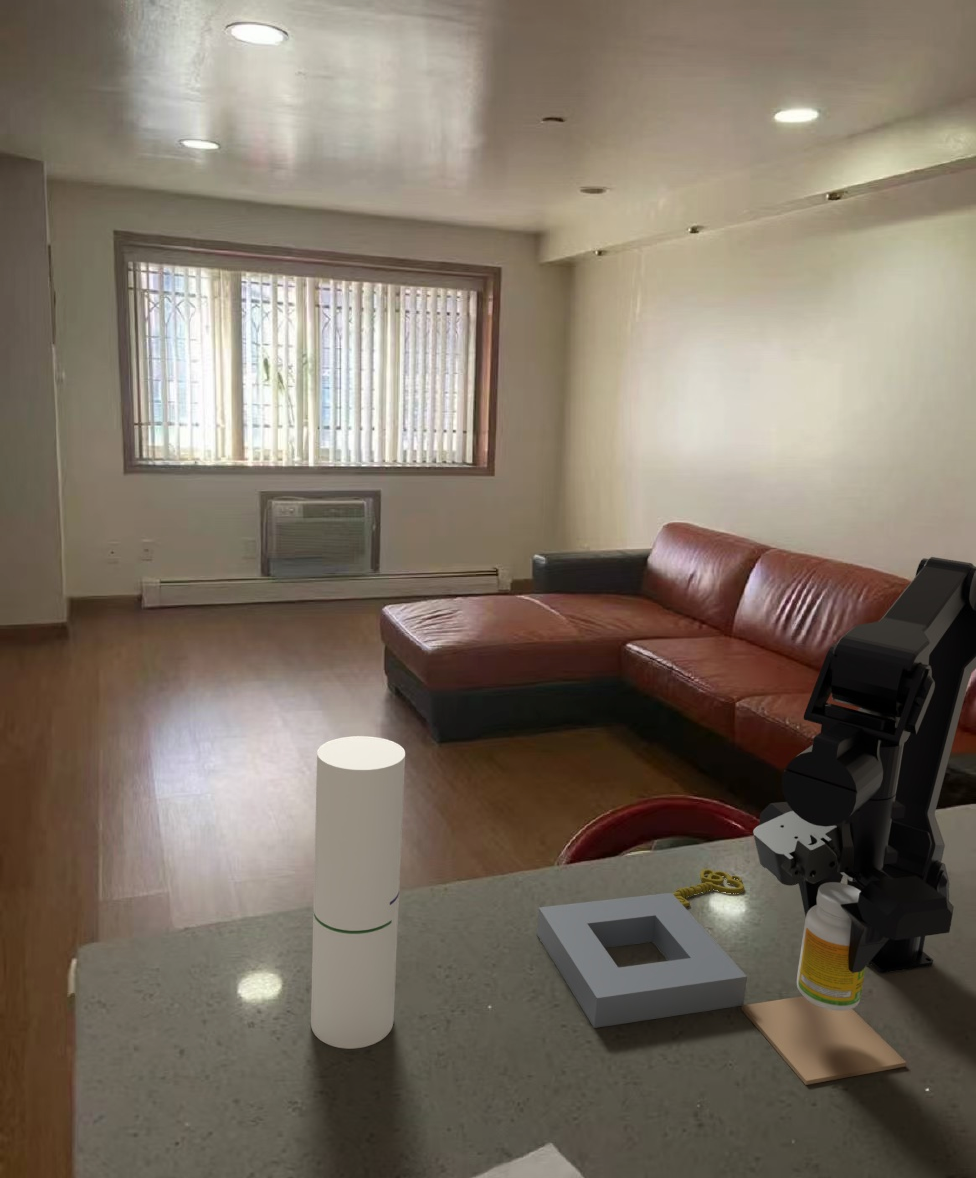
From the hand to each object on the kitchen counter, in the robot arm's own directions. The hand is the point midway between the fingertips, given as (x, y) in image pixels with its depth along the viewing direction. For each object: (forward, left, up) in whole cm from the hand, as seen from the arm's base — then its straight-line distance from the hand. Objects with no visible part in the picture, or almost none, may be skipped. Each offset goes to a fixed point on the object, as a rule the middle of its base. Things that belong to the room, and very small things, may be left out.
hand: (834, 951), depth 86 cm
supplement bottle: (0, 0, -4) cm, 4 cm away
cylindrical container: (+40, -11, -9) cm, 42 cm away
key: (-2, -25, -9) cm, 27 cm away
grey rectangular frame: (+12, -13, -8) cm, 20 cm away
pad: (0, 0, -8) cm, 8 cm away
